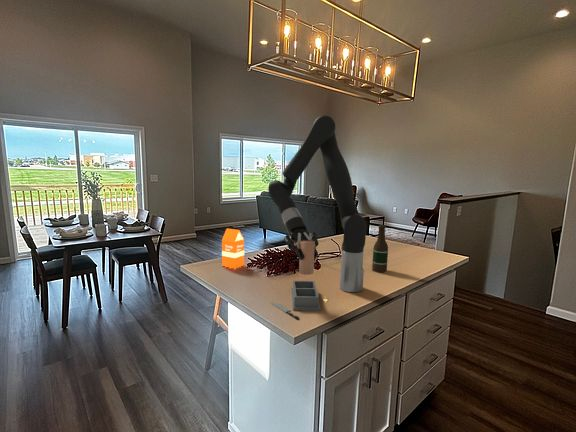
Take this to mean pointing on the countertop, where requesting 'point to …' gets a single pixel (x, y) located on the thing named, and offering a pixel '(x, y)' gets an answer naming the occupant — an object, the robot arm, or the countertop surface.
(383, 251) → the beer bottle
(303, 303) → the box
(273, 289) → the countertop surface
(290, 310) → the chef's knife
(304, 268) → the tan cylinder
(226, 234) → the orange juice
